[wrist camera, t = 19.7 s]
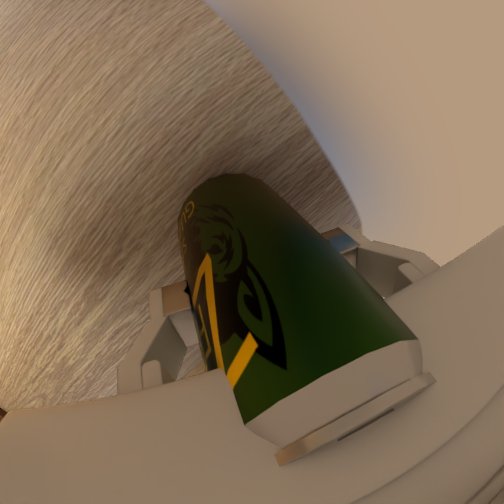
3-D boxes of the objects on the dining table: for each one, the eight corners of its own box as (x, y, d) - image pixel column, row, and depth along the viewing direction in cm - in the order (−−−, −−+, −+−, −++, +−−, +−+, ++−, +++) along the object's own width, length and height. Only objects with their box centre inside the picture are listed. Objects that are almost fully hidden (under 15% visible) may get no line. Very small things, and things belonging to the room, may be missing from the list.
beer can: (275, 162, 14) (484, 333, 4) (276, 251, 17) (398, 432, 7) (168, 178, 12) (225, 467, 3) (185, 271, 15) (248, 497, 6)
